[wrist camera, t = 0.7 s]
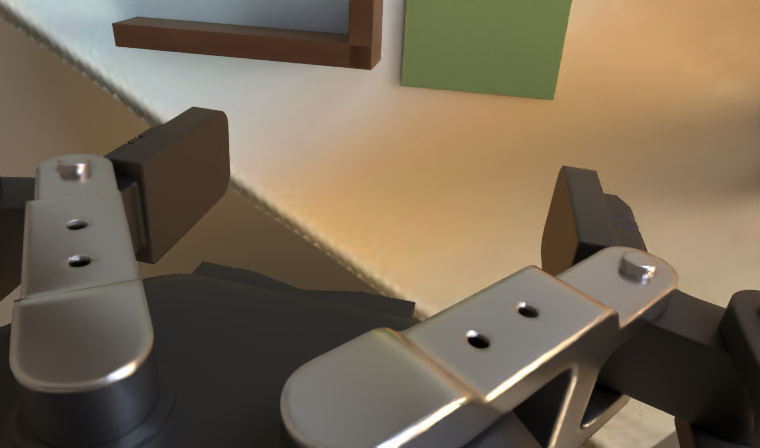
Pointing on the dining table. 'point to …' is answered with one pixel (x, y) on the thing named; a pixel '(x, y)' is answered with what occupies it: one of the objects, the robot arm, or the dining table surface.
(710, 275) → the dining table surface
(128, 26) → the corner guide
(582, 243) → the robot arm
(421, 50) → the cloth
